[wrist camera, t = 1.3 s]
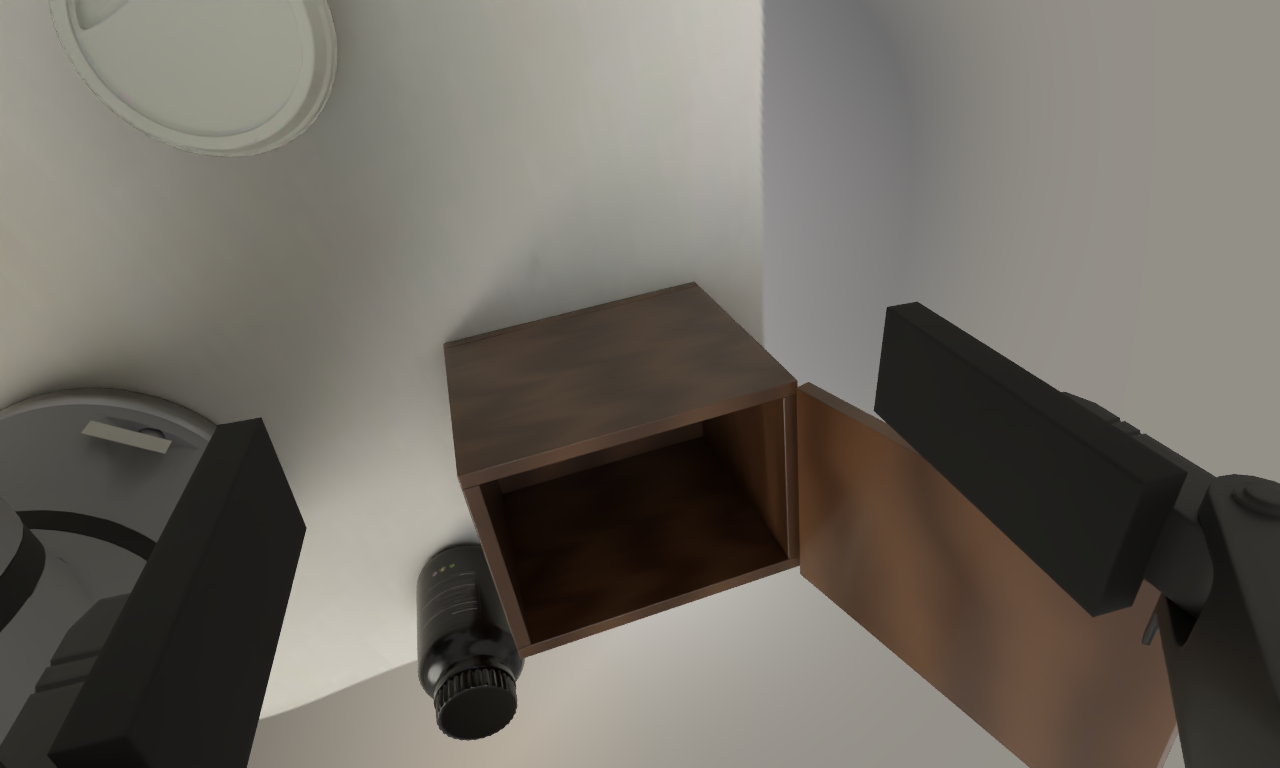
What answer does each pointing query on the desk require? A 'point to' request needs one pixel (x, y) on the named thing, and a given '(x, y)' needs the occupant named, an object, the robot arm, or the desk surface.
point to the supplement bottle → (465, 645)
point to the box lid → (973, 602)
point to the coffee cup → (205, 67)
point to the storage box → (624, 461)
